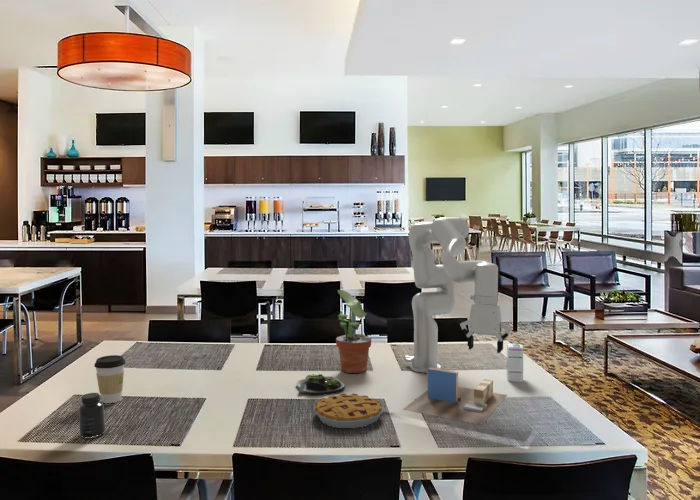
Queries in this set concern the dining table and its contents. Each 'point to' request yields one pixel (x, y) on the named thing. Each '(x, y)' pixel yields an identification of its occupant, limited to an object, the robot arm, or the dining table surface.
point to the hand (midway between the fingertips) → (485, 350)
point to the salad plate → (320, 385)
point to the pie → (348, 410)
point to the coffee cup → (110, 377)
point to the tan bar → (481, 396)
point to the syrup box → (515, 362)
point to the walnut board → (455, 406)
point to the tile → (443, 385)
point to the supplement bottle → (91, 415)
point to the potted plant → (352, 338)
